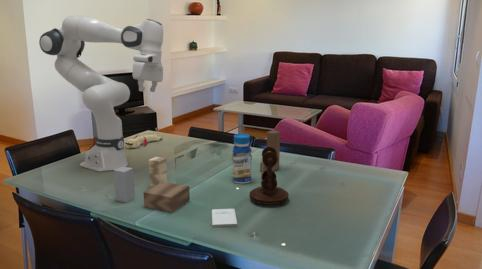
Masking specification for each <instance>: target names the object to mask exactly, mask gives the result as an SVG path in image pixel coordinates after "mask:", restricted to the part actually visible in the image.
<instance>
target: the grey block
mask: <svg viewBox="0 0 482 269" xmlns="http://www.w3.org/2000/svg"><path fill="white" fill-rule="evenodd" d="M134 175H135V174H134V168H133V167H128V166H126V167H123V166H122V167H120V168H118V169H115V170H113V179H114V193H115V200H116V201H118V202H122V203H128V202H131V201H132V200H134V199H135V198H136V194H135V191H136V190H135V178H134V177H135V176H134Z"/></svg>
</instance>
